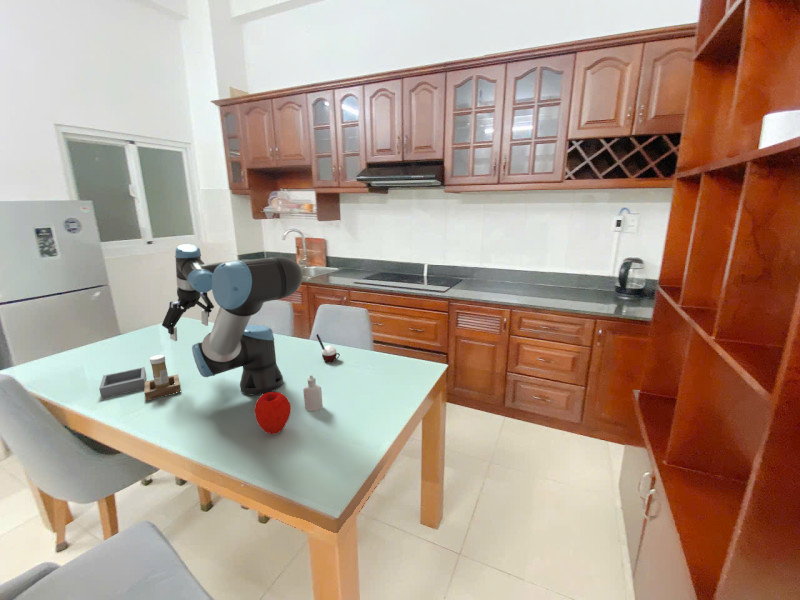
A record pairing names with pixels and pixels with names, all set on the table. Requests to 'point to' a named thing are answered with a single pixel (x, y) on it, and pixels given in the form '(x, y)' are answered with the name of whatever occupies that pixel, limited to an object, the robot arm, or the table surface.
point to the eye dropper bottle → (312, 395)
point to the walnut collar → (162, 388)
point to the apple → (272, 412)
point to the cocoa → (328, 352)
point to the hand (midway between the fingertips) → (189, 331)
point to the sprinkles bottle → (159, 371)
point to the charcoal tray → (122, 382)
